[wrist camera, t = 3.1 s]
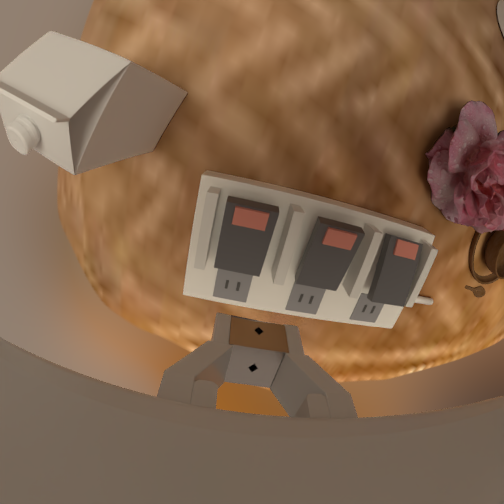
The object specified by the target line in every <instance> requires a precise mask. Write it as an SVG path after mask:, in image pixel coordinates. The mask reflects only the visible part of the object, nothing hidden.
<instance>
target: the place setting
mask: <svg viewBox="0 0 504 504" xmlns="http://www.w3.org/2000/svg"><path fill="white" fill-rule="evenodd" d="M480 235H481V233H479V232H477V231H476V233H475V235H474V238H473V241H472V244H471V248H470V254H469V264H470V270H471V273H472V275H473V277H474V278H475V279H476V280H477V281H478V282H479V283H481V284H490V283H493V282H495V281H496V280H498V279H499V278H500V279H504V231H503V230H499V231H497V232H496V233H495V234H494V235H492V236H491V237H490V239H489V240H488V242H487V245H486V253H485V261H486V264H487V267H488V268H489V270H490V271H491V272H492V274H490V275H488V276H479V275H477V274H476V273H475V271H474V265H473V261H474V253H475V249H476V245H477V242H478V240H479V237H480ZM465 288H466V289H469V290H471V291H473V293H474V295H475V296H476V297H482V296H484V295H485V290H484V288H483V287H476V288H472V287H470V286H467V285H466V286H465ZM476 290H477V292H476Z"/></svg>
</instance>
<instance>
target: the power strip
mask: <svg viewBox="0 0 504 504" xmlns="http://www.w3.org/2000/svg"><path fill="white" fill-rule="evenodd" d="M228 196H233V197H238V198H242V199H247V200H252V201H256V202H261V203H265V204H270V205H274V206H278V207H279V216H278V219H277V222H276V226H275V229H274V232H273V235H272V238H271V242H270V245H269V248H268V251H267V254H266V258H265V261H264V264H263V267H262V270H261V273H260V276H259V277H258V276H253V275H248V274H243V273H238V272H233V271H228V270H223V269H218V268H214V264H215V258H216V253H217V247H218V242H219V237H220V232H221V227H222V222H223V217H224V212H225V207H226V202H227V198H228ZM318 216H320V217H324V218H328V219H332V220H336V221H340V222H344V223H347V224H351V225H355V226H359V227H362V229H363V231H364V233H365V236H364V238H363V240H362V242H361V244H360V246H359V248H358V250H357V252H356V254H355V256H354V258H353V260H352V262H351V264H350V266H349V268H348V270H347V272H346V273H345V275H344V277H343V279H342V281H341V283H340V285H339V287H338V289H337V290H336V291H333V290H327V289H322V288H316V287H311V286H305V285H300V284H295V273H296V271H297V268H298V266H299V263H300V261H301V259H302V256H303V254H304V251H305V248H306V246H307V243H308V241H309V238H310V236H311V233H312V231H313V228H314V225H315V223H316V220H317V218H318ZM385 233H387V234H391V235H394V236H397V237H401V238H404V239H408V240H411V241H414V242H418V243H420V244H423V247H422V251H421V255H420V258H419V262H418V265H417V269H416V272H415V275H414V278H413V282H412V285H411V288H410V291H409V294H408V297H407V300H406V302H405V306H406V307H412V306H413V304H414V303H420V304H426V305H431V304H433V299H432V298H428V297H422V296H418V294H419V292H420V290H421V288H422V286H423V284H424V282H425V280H426V278H427V275H428V273H429V271H430V269H431V267H432V264H433V262H434V260H435V257H436V255H437V253H438V250H437V249H436V248H435V247H434V246H432V243H433V241H434V238H435V235H433V234H432V233H430V232H429V231H428V230H426V229H425V228H423V227H421V226H418V225H415V224H412V223H409V222H406V221H403V220H400V219H397V218H394V217H391V216H388V215H384V214H381V213H378V212H375V211H371V210H368V209H365V208H361V207H358V206H354V205H351V204H348V203H344V202H340V201H337V200H333V199H330V198H326V197H322V196H318V195H315V194H311V193H307V192H303V191H299V190H295V189H291V188H287V187H283V186H279V185H274V184H270V183H266V182H261V181H257V180H252V179H248V178H243V177H238V176H234V175H229V174H224V173H219V172H214V171H209V170H206V171H205V172H204V173H203V174H202V176H201V182H200V187H199V193H198V198H197V204H196V210H195V215H194V221H193V228H192V234H191V240H190V247H189V254H188V261H187V268H186V275H185V283H184V290H183V295H187V296H192V297H197V298H202V299H206V300H211V301H216V302H221V303H227V304H232V305H237V306H242V307H248V308H253V309H259V310H265V311H270V312H276V313H282V314H288V315H295V316H301V317H308V318H314V319H321V320H328V321H335V322H342V323H350V324H358V325H366V326H374V327H383V328H393V326H394V324H395V322H396V320H397V318H398V316H399V315H400V313H401V311H402V309H403V307H401V306H395V305H388V304H382V303H376V302H371V301H370V300H369V299H368V298H367V295H368V292H369V289H370V286H371V283H372V280H373V276H374V273H375V270H376V264H377V262H378V259H379V256H380V252H381V249H382V245H383V241H384V237H385Z"/></svg>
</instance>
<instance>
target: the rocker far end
mask: <svg viewBox="0 0 504 504" xmlns="http://www.w3.org/2000/svg"><path fill="white" fill-rule="evenodd" d="M278 216H279V207H278V206H274V205H270V204H265V203H261V202H256V201H252V200H247V199H242V198H238V197H233V196H228V198H227V202H226V207H225V212H224V217H223V222H222V227H221V232H220V237H219V242H218V247H217V253H216V258H215V264H214V268H218V269H223V270H228V271H233V272H238V273H243V274H248V275H253V276H258V277H259V276H260V273H261V270H262V267H263V264H264V261H265V258H266V254H267V251H268V248H269V245H270V242H271V238H272V235H273V232H274V229H275V226H276V222H277V219H278Z"/></svg>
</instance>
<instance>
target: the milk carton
mask: <svg viewBox="0 0 504 504" xmlns="http://www.w3.org/2000/svg"><path fill="white" fill-rule="evenodd" d="M186 95H187V92H186V91H185V90H183V89H181V88H180V87H178V86H176V85H174V84H173V83H171V82H169V81H167V80H166V79H164V78H162V77H160V76H158V75H156V74H155V73H153V72H151V71H149V70H147V69H145V68H143V67H141V66H140V65H138V64H136V63H134V62H132V61H130V60H128V59H126V58H123V57H121V56H119V55H116V54H114V53H112V52H109V51H107V50H104V49H102V48H99V47H97V46H94V45H91V44H89V43H86V42H83V41H80V40H78V39H75V38H72V37H69V36H66V35H63V34H60V33H57V32H52V31H50V32H48V33H47V34H45V35H44V36H43V37H41V38H40V39H39V40H37V41H36V42H35V43H34V44H32V45H31V46H30V47H29V48H27V49H26V50H25V51H24V52H22V53H21V54H20V55H19V56H18V57H17V58H16V59H15V60H13V61H12V62H11V63H10V64H9V65H8V66H7V67H6V68H4V69H3V71H1V72H0V112H1V116H2V120H3V123H4V127H5V129H6V132H7V137H8V139H9V141H10V143H11V145H12V146H13V147H14V148H15V149H16V150H17V151H18V152H20V153H21V154H23V155H27V154H28V153H29V152H30V151H31V150H32V149H34V150H35V151H37V152H38V153H40V154H41V155H43V156H44V157H46V158H47V159H49V160H51V161H52V162H54V163H55V164H57V165H58V166H60V167H61V168H63V169H65V170H66V171H68V172H70V173H71V174H73V175H77V174H80V173H83V172H86V171H89V170H92V169H95V168H98V167H101V166H104V165H107V164H110V163H114V162H117V161H120V160H124V159H127V158H130V157H134V156H138V155H141V154H145V153H149V152H152V151H153V150H154V148H155V146H156V145H157V143H158V141H159V139H160V137H161V136H162V134H163V132H164V130H165V129H166V127H167V125H168V124H169V122H170V120H171V119H172V117H173V115H174V114H175V112H176V110H177V109H178V107H179V106H180V104H181V102H182V101H183V99H184V98H185V96H186Z"/></svg>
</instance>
